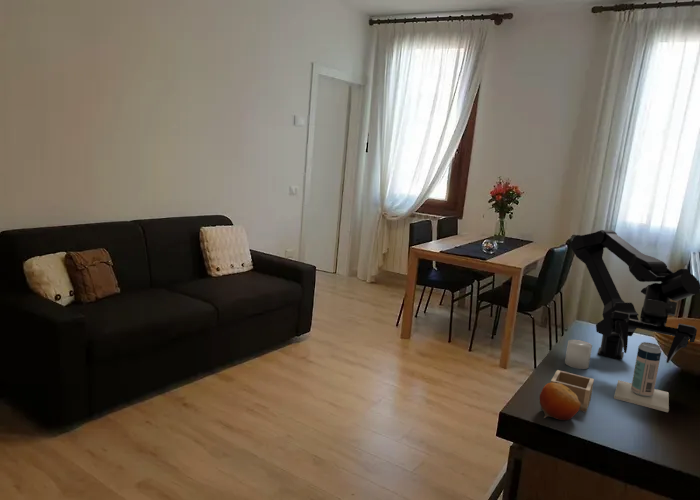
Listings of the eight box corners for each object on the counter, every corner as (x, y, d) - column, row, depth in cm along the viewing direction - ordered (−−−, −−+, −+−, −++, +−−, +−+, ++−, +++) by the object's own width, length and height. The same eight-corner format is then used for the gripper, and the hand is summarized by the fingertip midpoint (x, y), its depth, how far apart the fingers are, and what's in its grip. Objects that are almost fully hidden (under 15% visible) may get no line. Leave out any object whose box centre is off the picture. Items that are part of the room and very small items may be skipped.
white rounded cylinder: (566, 358, 150) (569, 338, 149) (590, 364, 147) (593, 343, 146) (563, 365, 145) (566, 343, 144) (587, 370, 142) (590, 349, 141)
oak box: (554, 389, 128) (557, 369, 127) (590, 399, 124) (594, 379, 123) (547, 401, 121) (551, 380, 120) (586, 412, 117) (589, 390, 116)
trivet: (617, 383, 135) (618, 380, 135) (668, 395, 130) (668, 392, 130) (613, 398, 126) (614, 395, 125) (668, 412, 120) (668, 409, 120)
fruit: (524, 398, 118) (548, 370, 117) (553, 418, 119) (576, 391, 118) (536, 416, 110) (561, 386, 109) (566, 437, 111) (591, 408, 110)
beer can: (655, 394, 128) (664, 346, 126) (650, 399, 124) (659, 350, 122) (633, 387, 131) (642, 340, 129) (627, 392, 128) (636, 344, 125)
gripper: (618, 280, 138) (605, 331, 131) (703, 294, 129) (695, 351, 122) (616, 303, 146) (604, 353, 139) (696, 319, 137) (688, 373, 130)
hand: (646, 357), depth 132 cm, fingers open, 9 cm apart
